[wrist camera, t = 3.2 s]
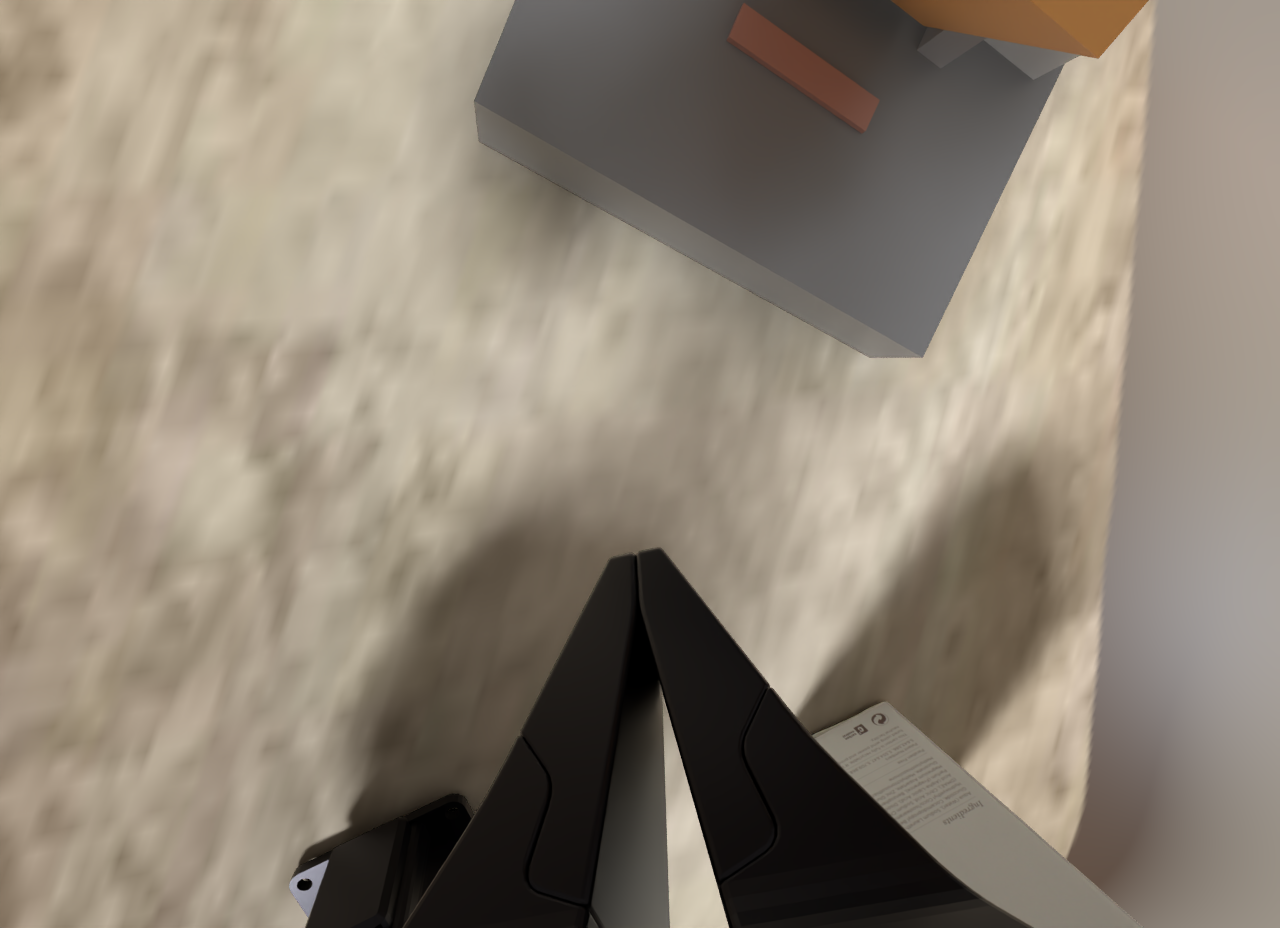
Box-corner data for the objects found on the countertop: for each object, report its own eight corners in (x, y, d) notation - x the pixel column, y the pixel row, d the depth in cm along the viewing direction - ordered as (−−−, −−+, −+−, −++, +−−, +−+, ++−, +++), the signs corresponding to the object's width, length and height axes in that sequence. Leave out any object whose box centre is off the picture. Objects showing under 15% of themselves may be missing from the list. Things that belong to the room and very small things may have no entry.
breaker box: (869, 357, 23) (977, 357, 18) (479, 141, 18) (468, 56, 13) (1033, 14, 22) (1198, -93, 17) (661, -302, 17) (727, -583, 12)
